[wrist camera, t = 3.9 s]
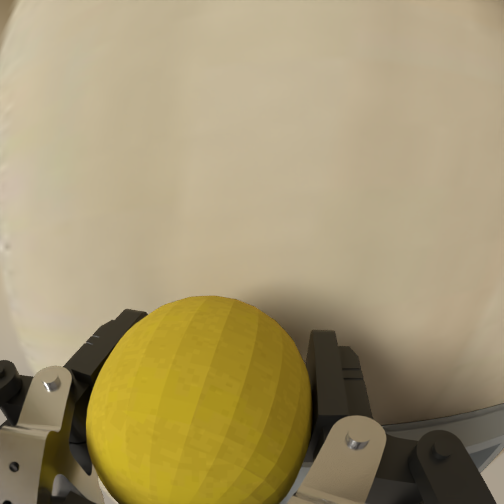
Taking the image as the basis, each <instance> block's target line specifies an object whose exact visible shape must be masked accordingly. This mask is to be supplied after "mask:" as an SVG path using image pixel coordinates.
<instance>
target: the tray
mask: <svg viewBox="0 0 504 504" xmlns="http://www.w3.org/2000/svg"><path fill="white" fill-rule="evenodd" d="M382 428H383V429H384V431H385V433H386V434H388V435H391V436H393V437H397V438H403V439H409V440H416V441H419V440H420V439H421V437H422V436H423V435H424V434H426V433H428V432H430V431H433V430H445V431H448V432H451V433H453V434H454V435H456V436H457V437H458V438H459V439H460V440H461V442H462V443H463V445H464V447H465V448H466V450H467V452H468V453H469V455H470V457H471V458H472V460H473V462H474V464H475V465H476V467H477V469H478V471H479V472H480V473H481V472H482V471H483V470H484V469H485V468H486V467H487V466H488V465H489V464H490V463H491V462H492V460H493V459H494V458H495V457H496V456H497V455H498V454H499V453H500V452H501V451H502V449H503V448H504V403H503V404H500V405H496V406H493V407H489V408H485V409H481V410H477V411H473V412H469V413H464V414H459V415H455V416H449V417H444V418H438V419H432V420H426V421H419V422H412V423H403V424H394V425H383V426H382ZM312 464H313V462H303V464H302V466H301V469H300V471H299V473H298V476H297V478H296V480H295V482H294V484H293V486H292V488H291V489H290V491H289V493H288V494H287V496H286V497H285V498H284V499H283V500H282V501H281V502H280V504H287V502H288V501H289V499H290V498H291V497H292V495H293V494H294V493H296V491H297V490H298V488H299V487H300V485H301V483H302V482H303V480H304V478H305V477H306V475H307V473H308V472H309V470H310V468H311V466H312ZM365 504H366V503H365Z"/></svg>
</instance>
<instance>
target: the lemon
mask: <svg viewBox="0 0 504 504" xmlns="http://www.w3.org/2000/svg"><path fill="white" fill-rule="evenodd" d="M312 421H313V406H312V394H311V385H310V380H309V375H308V371H307V368H306V365H305V363H304V361H303V359H302V357H301V355H300V353H299V351H298V349H297V347H296V345H295V343H294V341H293V340H292V338H291V337H290V336H289V335H288V334H287V333H286V331H285V330H284V329H283V328H282V327H281V326H280V325H279V324H278V323H277V322H276V321H275V320H274V319H272V318H271V317H269V316H268V315H266V314H265V313H263V312H262V311H260V310H259V309H257V308H256V307H254V306H251V305H249V304H246V303H244V302H241V301H239V300H237V299H231V298H225V297H220V296H196V297H188V298H185V299H182V300H178V301H175V302H172V303H168V304H165V305H163V306H161V307H159V308H158V309H156V310H155V311H153V312H152V313H150V314H149V315H147V316H146V317H144V318H143V319H142V320H140V321H139V322H137V323H136V324H135V325H134V326H132V327H131V328H130V329H129V330H128V331H127V332H126V333H125V334H124V336H123V337H122V338H121V339H120V340H119V342H118V343H117V345H116V346H115V348H114V349H113V351H112V352H111V354H110V355H109V357H108V359H107V360H106V362H105V363H104V365H103V367H102V369H101V371H100V373H99V375H98V377H97V380H96V382H95V384H94V387H93V390H92V393H91V396H90V400H89V405H88V409H87V418H86V439H87V448H88V452H89V455H90V458H91V462H92V464H93V466H94V468H95V470H96V472H97V474H98V476H99V478H100V480H101V481H102V483H103V485H104V486H105V488H106V489H107V490H108V492H109V493H110V495H111V496H112V497H113V498H114V499H115V500H116V501H117V502H118V503H119V504H280V502H281V501H282V500H283V499H284V498H285V497H286V496H287V494H288V493H289V491H290V489H291V488H292V486H293V484H294V482H295V480H296V478H297V476H298V473H299V471H300V469H301V466H302V464H303V461H304V458H305V455H306V452H307V449H308V446H309V441H310V437H311V431H312Z"/></svg>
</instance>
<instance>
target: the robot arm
mask: <svg viewBox="0 0 504 504" xmlns="http://www.w3.org/2000/svg"><path fill="white" fill-rule="evenodd" d="M147 315H148V314H147V313H146V312H143V311H137V310H131V309H125V310H124V311H123V312H122V313H121V314H120V315H119V316H118V317H117V318H116V319H115V320H111V321H109V322H108V323H106V324H104V325H102V326H101V327H100V328H99V329H98V330H97V331H96V332H95V333H94V334H93V336H91V337H90V338H89V339H88V340H87V341H86V343H84V345H83V346H82V347H81V348H80V349H79V350H78V351H77V352H76V353H75V354H74V355H73V356H72V358H71V359H70V360H69V361H68V362H67V363H66V364H65V365H64V366H63V367H61V366H50V367H46V368H44V369H42V370H40V371H39V372H38V373H37V374H36V375H35V376H34V377H31V376H22V375H19V373H18V371H17V369H16V367H15V365H14V364H13V363H12V362H10V361H7V360H1V361H0V409H1V410H2V412H3V413H4V415H5V416H6V418H7V420H6V421H5V422H4V423H3V424H2V425H1V426H0V504H104V498H103V494H102V491H101V489H100V487H99V483H98V474H97V472H96V470H95V468H94V466H93V464H92V462H91V458H90V455H89V452H88V448H87V439H86V418H87V409H88V405H89V400H90V396H91V393H92V390H93V387H94V384H95V382H96V380H97V377H98V375H99V373H100V371H101V369H102V367H103V365H104V363H105V362H106V360H107V359H108V357H109V355H110V354H111V352H112V351H113V349H114V348H115V346H116V345H117V343H118V342H119V340H120V339H121V338H122V337H123V336H124V334H125V333H126V332H127V331H128V330H129V329H130V328H131V327H132V326H134V325H135V324H136V323H137V322H139V321H140V320H142V319H143V318H144V317H146V316H147ZM306 368H307V371H308V375H309V380H310V385H311V394H312V406H313V421H312V431H311V437H310V441H309V446H308V449H307V452H306V455H305V458H304V461H303V462H313V464H312V466H311V468H310V470H309V472H308V473H307V475H306V477H305V478H304V480H303V482H302V483H301V485H300V487H299V488H298V490H297V491H296V493H294V494H293V495H292V497H291V498H290V499H289V501H288V502H287V504H365V503H366V504H496V502H495V500H494V498H493V496H492V494H491V492H490V490H489V489H488V487H487V485H486V483H485V481H484V480H483V478H482V476H481V474H480V472H479V471H478V469H477V467H476V465H475V464H474V462H473V460H472V458H471V457H470V455H469V453H468V452H467V450H466V448H465V447H464V445H463V443H462V442H461V440H460V439H459V438H458V437H457V436H456V435H454V434H453V433H451V432H448V431H445V430H433V431H430V432H428V433H426V434H424V435H423V436H422V437H421V439H420V440H419V441H416V440H409V439H403V438H397V437H393V436H391V435H388V434H386V433H385V431H384V429H383V428H382V426H381V425H380V424H379V423H378V422H376V421H375V420H373V417H372V414H371V409H370V404H369V400H368V396H367V391H366V387H365V383H364V380H363V375H362V371H361V366H360V363H359V359H358V356H357V355H356V354H355V353H354V351H353V350H352V349H351V348H350V347H349V346H338V345H337V340H336V334H335V331H328V330H312V331H311V335H310V341H309V347H308V353H307V359H306Z"/></svg>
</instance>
